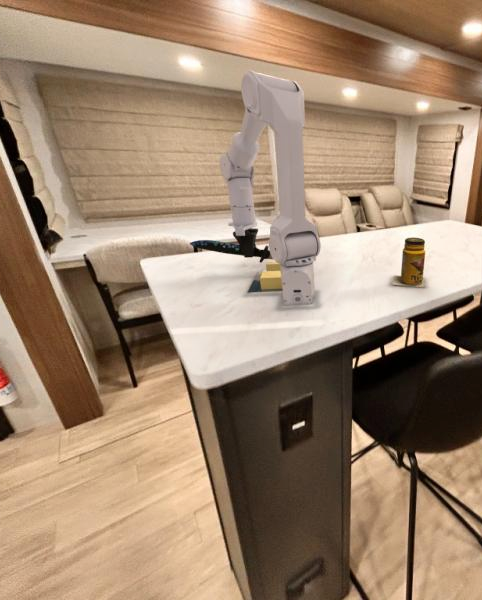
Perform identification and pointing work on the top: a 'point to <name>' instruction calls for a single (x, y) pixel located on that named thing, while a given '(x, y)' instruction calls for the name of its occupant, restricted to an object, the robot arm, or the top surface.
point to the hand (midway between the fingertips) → (249, 256)
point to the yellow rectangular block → (271, 280)
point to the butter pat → (273, 266)
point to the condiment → (412, 264)
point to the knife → (230, 248)
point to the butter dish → (259, 286)
